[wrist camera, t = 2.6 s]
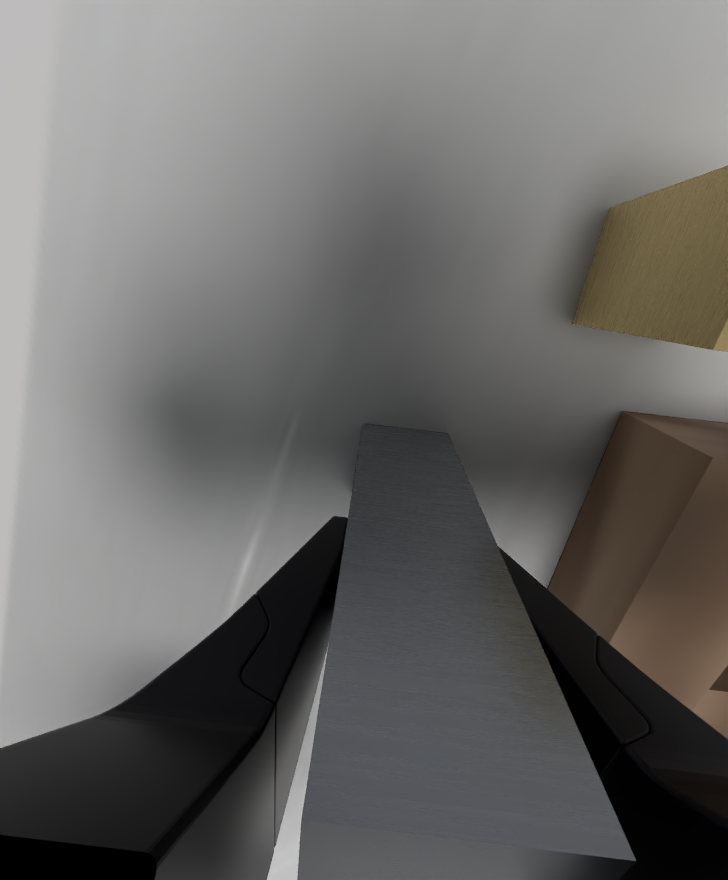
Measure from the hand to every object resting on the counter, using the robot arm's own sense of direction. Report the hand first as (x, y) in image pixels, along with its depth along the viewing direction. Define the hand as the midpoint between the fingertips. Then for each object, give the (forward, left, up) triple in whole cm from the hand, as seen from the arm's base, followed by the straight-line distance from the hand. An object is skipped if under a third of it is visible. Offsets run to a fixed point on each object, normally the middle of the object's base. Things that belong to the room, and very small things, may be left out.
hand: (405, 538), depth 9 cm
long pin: (0, 0, -4) cm, 4 cm away
